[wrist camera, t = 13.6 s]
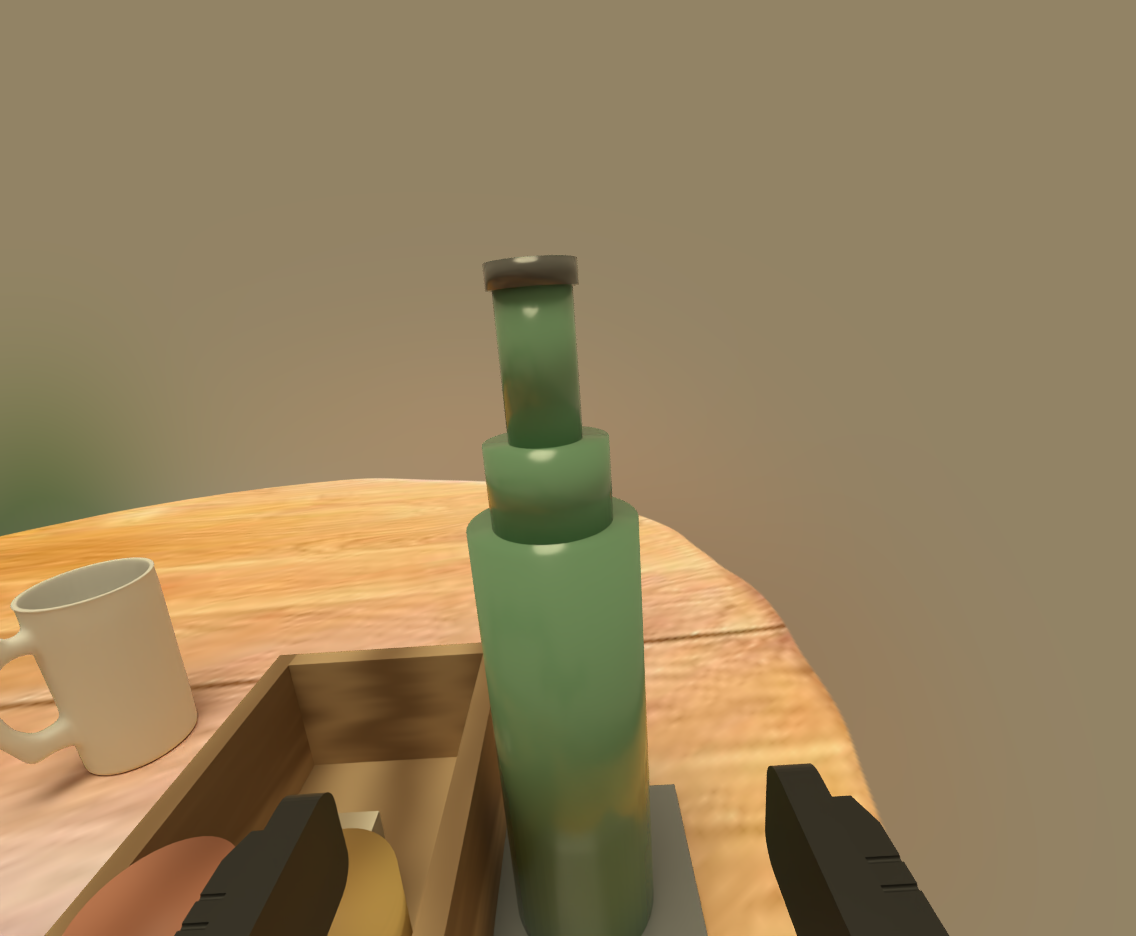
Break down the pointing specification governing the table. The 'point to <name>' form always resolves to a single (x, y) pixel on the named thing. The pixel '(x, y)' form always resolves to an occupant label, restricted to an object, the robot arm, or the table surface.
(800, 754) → the table surface
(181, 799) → the crate
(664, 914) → the coaster
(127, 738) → the mug
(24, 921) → the table surface
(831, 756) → the table surface
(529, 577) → the green bottle
